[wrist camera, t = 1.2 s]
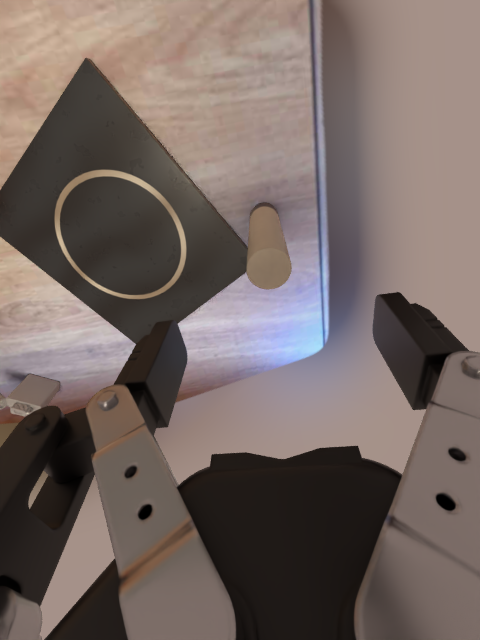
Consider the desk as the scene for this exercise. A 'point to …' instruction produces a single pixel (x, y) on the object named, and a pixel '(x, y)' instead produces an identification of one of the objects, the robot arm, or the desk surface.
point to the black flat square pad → (116, 214)
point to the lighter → (30, 395)
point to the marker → (267, 249)
